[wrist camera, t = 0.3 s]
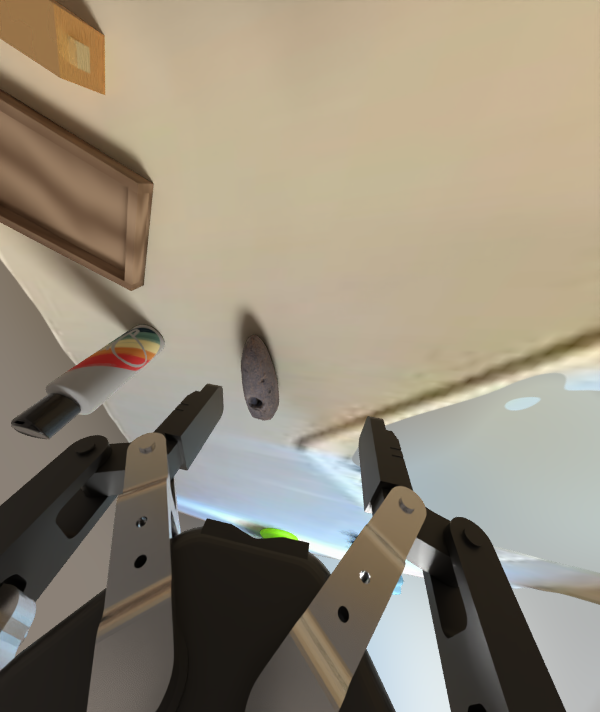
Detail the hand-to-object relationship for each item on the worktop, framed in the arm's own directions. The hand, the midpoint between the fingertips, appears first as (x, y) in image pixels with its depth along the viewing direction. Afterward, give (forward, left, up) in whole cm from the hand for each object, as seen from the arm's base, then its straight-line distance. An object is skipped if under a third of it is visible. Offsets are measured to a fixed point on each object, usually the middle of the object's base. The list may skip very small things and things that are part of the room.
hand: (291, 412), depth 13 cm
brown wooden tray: (+8, -33, -22) cm, 40 cm away
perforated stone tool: (+18, -1, -22) cm, 29 cm away
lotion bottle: (+25, -21, -22) cm, 39 cm away
